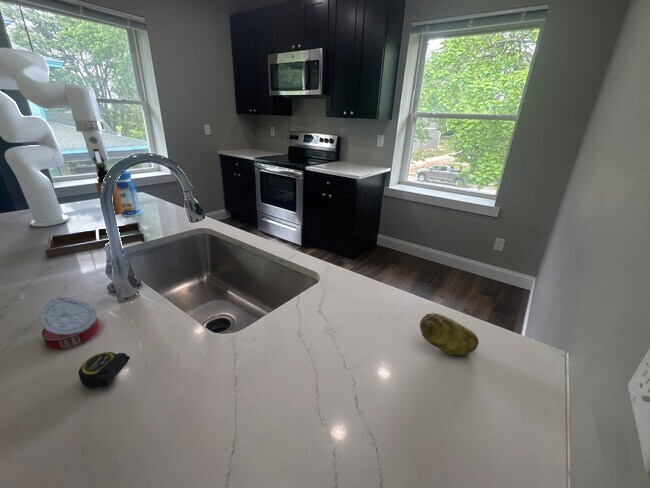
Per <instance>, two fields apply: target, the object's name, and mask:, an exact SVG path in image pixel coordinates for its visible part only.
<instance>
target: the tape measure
mask: <svg viewBox="0 0 650 488" xmlns="http://www.w3.org/2000/svg"><path fill="white" fill-rule="evenodd" d="M129 360H131V356H130V355H128V354H126V353H125V352H118V353H115V352H111V351H105V352H101V353H97V354H95V355H93V356H91V357H90V358H88V359H86V360H85V361H84V362H83V363H82V364H81V366H80V368H79V370H78V373H77V374H78V378H79V381H80V382H81V384H82V386H84V387H86V388H87V389H96V388H101V389H102V388H103V389H104V388H107V387H110V385H111V384H112V383H113V382H114V380H115V379H116V377H118V375H119V374H120V372H121V371H122V370H123V369H124V367H126V365H127V364H128V362H129Z"/></svg>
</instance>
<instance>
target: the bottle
mask: <svg viewBox="0 0 650 488" xmlns="http://www.w3.org/2000/svg"><path fill="white" fill-rule="evenodd" d="M94 166H95V168H96V165H94ZM105 166H106V169H108V167H107V166H108V165H107V164H105ZM94 185H95V187H96V190H97V194H98V197H99V198H100V191H101V185H102V183H100V182H99V178H98V176H96V181H94ZM113 206H114V211H115V215H114V216H118V215H122V213H123V212H124V211H123V207H122V203H121V200H120V196H119V192H118V189H117V185H115V188H114V192H113Z"/></svg>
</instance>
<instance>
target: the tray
mask: <svg viewBox="0 0 650 488" xmlns="http://www.w3.org/2000/svg"><path fill="white" fill-rule="evenodd" d="M117 226H118V228H119V232H120V238H121V241H122V245H127V244H133V243H138V242H141V243H145V242H146V240H145V236H144V232H143V229H142V226H141V224H140V222H139V221H138V222H132V223H131V222H130V223H125V224H119V225H117ZM108 242H109V240H108V236H107V233H106V229H105V227H99V228H94V229H86V230H79V231H74V232H68V233H67V232H66V233H61V234H54V235H50V236H48V240H47V244H46V247H45V253H46V255H47V258H48V259H52V258H58V257H64V256H67V255H68V256H69V255H75V254H79V253H85V252H90V251H95V250H101V249H105V248H104V247H105V244H106V243H108ZM122 245H121V246H122Z"/></svg>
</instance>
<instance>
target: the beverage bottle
mask: <svg viewBox="0 0 650 488" xmlns="http://www.w3.org/2000/svg"><path fill="white" fill-rule="evenodd" d="M124 171H125V172H124V173H123V174H122V175H121V176H120V178H119V179H118V181H117V183H116V185H117V189H118V192H119V196H120V200H121V203H122V207H123V211H124V212H123V213H122V214H121V216H123V217H135V216H138V215H140V214H142V209H141V205H140V201H139V196H138V190H137V189H136V185H135V183H134V182H133V181H132V180H131V179H132V175H131V172H130V170H124Z"/></svg>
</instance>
